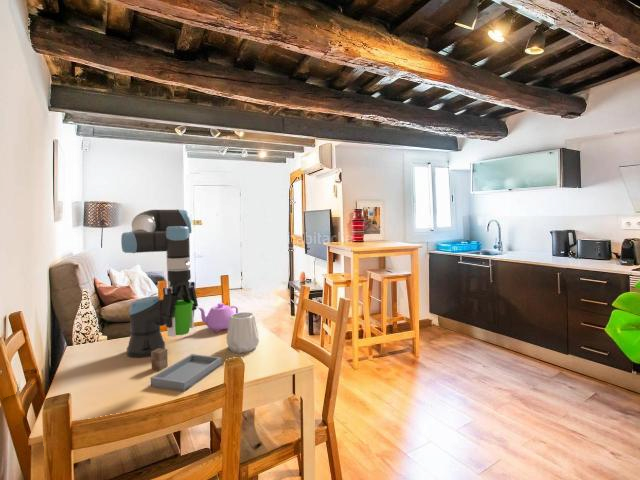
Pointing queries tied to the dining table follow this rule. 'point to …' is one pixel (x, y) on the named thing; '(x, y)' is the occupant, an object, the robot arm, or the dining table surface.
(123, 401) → the dining table surface
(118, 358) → the dining table surface
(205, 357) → the tray
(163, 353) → the walnut block
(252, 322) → the vase
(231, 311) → the teapot
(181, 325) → the cup
